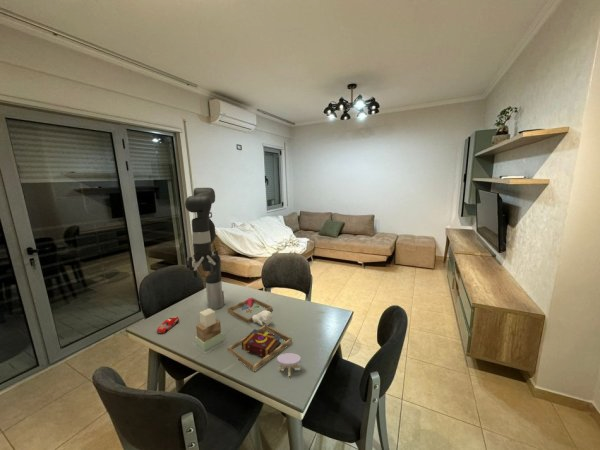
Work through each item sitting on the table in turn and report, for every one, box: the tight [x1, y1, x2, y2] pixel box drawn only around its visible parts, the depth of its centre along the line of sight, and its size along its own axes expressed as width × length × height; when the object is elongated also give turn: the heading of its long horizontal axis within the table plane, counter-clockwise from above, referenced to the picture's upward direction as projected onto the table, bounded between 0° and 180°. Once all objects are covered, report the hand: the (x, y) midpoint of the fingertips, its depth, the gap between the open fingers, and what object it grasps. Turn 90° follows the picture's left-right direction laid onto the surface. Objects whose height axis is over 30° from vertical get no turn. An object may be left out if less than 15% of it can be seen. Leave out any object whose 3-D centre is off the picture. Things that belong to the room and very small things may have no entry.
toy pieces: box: [241, 297, 260, 314], centre depth 152 cm, size 12×11×4 cm
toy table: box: [276, 352, 302, 377], centre depth 101 cm, size 10×9×6 cm
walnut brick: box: [195, 318, 222, 342], centre depth 117 cm, size 9×6×6 cm, turn 141°
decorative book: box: [241, 329, 282, 358], centre depth 115 cm, size 11×16×5 cm
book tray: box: [227, 324, 293, 372], centre depth 115 cm, size 24×19×2 cm
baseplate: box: [191, 337, 228, 355], centre depth 118 cm, size 12×12×1 cm
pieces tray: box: [227, 297, 273, 325], centre depth 148 cm, size 19×20×2 cm
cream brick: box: [199, 308, 217, 328], centre depth 116 cm, size 5×5×6 cm
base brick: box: [194, 331, 224, 351], centre depth 117 cm, size 10×8×4 cm
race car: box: [156, 316, 180, 335], centre depth 132 cm, size 13×5×4 cm, turn 167°
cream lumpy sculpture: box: [251, 309, 273, 326], centre depth 134 cm, size 6×8×12 cm
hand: (204, 275), depth 112 cm, fingers open, 8 cm apart
